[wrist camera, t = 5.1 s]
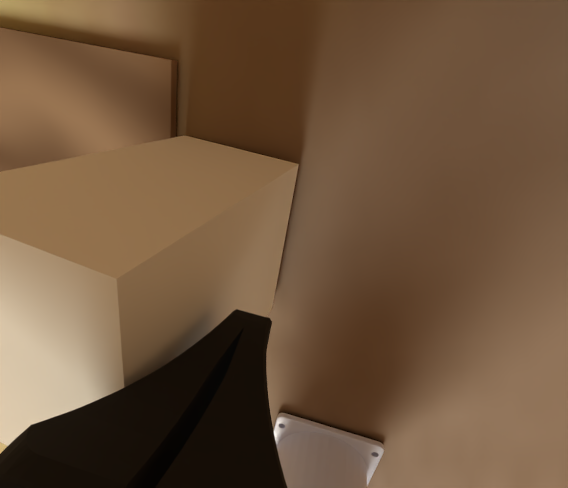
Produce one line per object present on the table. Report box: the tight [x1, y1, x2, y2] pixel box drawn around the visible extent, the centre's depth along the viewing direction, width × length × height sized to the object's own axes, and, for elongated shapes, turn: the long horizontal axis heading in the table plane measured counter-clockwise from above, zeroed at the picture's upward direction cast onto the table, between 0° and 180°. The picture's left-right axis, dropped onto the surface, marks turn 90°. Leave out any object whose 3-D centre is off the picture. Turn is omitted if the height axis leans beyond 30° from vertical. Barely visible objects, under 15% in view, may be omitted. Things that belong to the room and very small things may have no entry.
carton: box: [0, 135, 299, 446], centre depth 15 cm, size 9×6×12 cm
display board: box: [0, 27, 177, 172], centre depth 21 cm, size 16×12×1 cm
